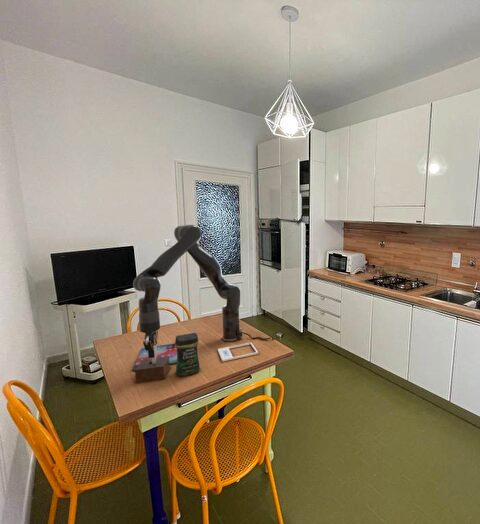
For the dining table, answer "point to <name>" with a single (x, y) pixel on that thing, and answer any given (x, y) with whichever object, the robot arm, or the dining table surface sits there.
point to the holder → (152, 369)
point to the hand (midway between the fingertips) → (152, 356)
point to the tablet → (159, 354)
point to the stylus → (154, 356)
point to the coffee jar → (187, 354)
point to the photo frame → (227, 355)
